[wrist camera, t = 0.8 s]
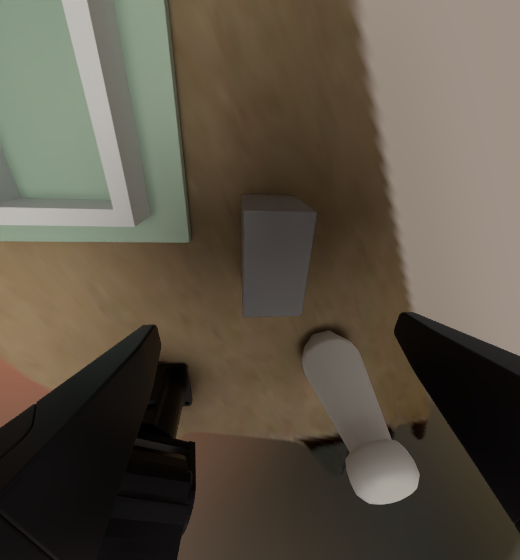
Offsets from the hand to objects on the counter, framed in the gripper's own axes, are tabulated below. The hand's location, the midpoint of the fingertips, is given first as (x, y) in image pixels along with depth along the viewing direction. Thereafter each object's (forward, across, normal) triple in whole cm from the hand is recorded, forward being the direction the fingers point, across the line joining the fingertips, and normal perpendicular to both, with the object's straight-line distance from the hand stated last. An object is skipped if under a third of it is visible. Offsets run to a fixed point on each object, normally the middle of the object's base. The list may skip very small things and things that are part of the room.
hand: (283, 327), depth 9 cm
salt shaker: (+12, -7, +13) cm, 19 cm away
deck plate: (+12, +12, -8) cm, 19 cm away
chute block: (+12, -1, 0) cm, 12 cm away
